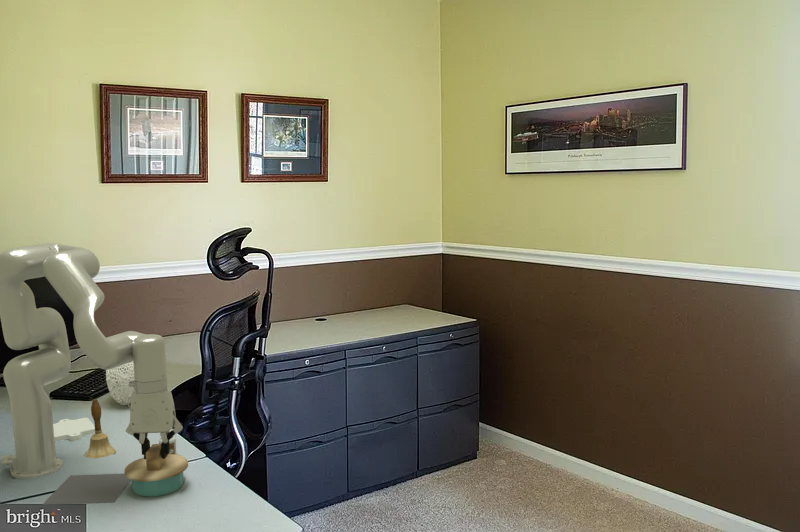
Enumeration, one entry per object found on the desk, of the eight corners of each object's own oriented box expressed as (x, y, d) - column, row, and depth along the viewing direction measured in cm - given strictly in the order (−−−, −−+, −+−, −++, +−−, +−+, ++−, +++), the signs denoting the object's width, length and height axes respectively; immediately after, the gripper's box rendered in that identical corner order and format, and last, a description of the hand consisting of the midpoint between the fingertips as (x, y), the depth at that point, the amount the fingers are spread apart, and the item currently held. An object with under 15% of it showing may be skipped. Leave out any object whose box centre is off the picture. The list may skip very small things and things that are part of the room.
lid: (116, 482, 179) (114, 461, 178) (135, 458, 194) (134, 438, 193) (179, 480, 180) (178, 458, 179) (194, 456, 195) (193, 436, 194)
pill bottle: (159, 461, 205) (157, 433, 204) (160, 455, 209) (158, 428, 208) (176, 459, 206) (174, 432, 205) (176, 453, 210) (175, 426, 209)
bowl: (126, 499, 182) (125, 479, 181) (141, 478, 193) (140, 460, 193) (176, 497, 182) (174, 477, 181) (188, 477, 194) (187, 458, 193)
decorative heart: (149, 408, 250) (146, 358, 248) (116, 415, 244) (112, 363, 242) (134, 395, 265) (131, 347, 262) (103, 401, 259) (99, 352, 256)
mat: (42, 506, 178) (41, 504, 178) (70, 477, 195) (70, 475, 195) (114, 504, 179) (114, 502, 179) (136, 474, 196) (136, 473, 196)
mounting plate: (99, 437, 225) (98, 430, 225) (52, 446, 218) (52, 440, 218) (85, 420, 240) (85, 415, 240) (41, 429, 233) (41, 423, 233)
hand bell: (105, 460, 206) (100, 404, 204) (78, 459, 208) (73, 403, 205) (121, 449, 214) (117, 395, 212) (95, 447, 216) (91, 394, 213)
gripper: (111, 391, 180) (117, 464, 183) (181, 388, 181) (186, 461, 183) (122, 381, 187) (127, 452, 190) (189, 380, 188) (193, 450, 190)
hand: (156, 456), depth 186 cm, fingers open, 3 cm apart
